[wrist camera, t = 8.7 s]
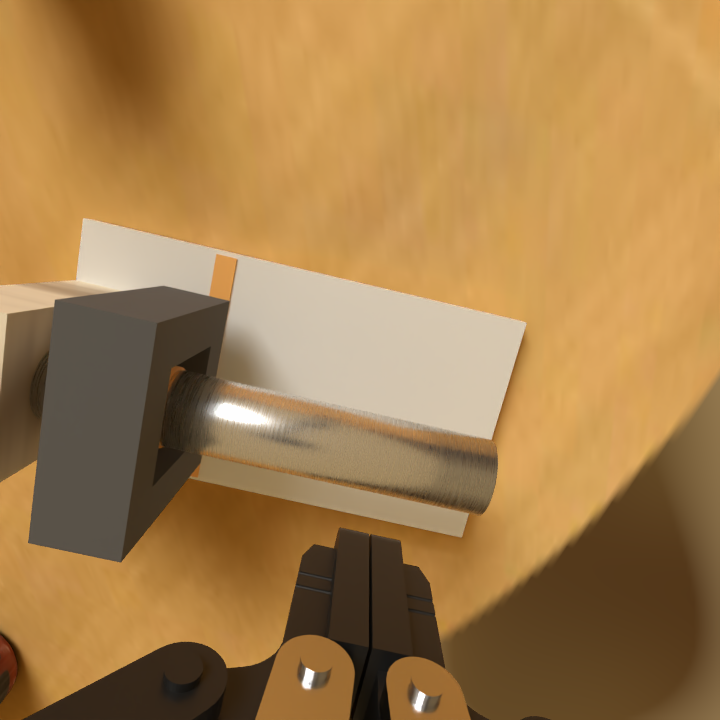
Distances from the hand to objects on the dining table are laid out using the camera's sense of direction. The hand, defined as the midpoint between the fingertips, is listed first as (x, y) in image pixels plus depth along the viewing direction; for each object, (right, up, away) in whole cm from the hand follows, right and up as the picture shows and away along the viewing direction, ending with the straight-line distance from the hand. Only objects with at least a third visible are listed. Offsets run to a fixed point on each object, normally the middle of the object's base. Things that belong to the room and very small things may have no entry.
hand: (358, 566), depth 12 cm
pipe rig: (-4, +4, +14) cm, 15 cm away
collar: (-8, +4, +11) cm, 14 cm away
